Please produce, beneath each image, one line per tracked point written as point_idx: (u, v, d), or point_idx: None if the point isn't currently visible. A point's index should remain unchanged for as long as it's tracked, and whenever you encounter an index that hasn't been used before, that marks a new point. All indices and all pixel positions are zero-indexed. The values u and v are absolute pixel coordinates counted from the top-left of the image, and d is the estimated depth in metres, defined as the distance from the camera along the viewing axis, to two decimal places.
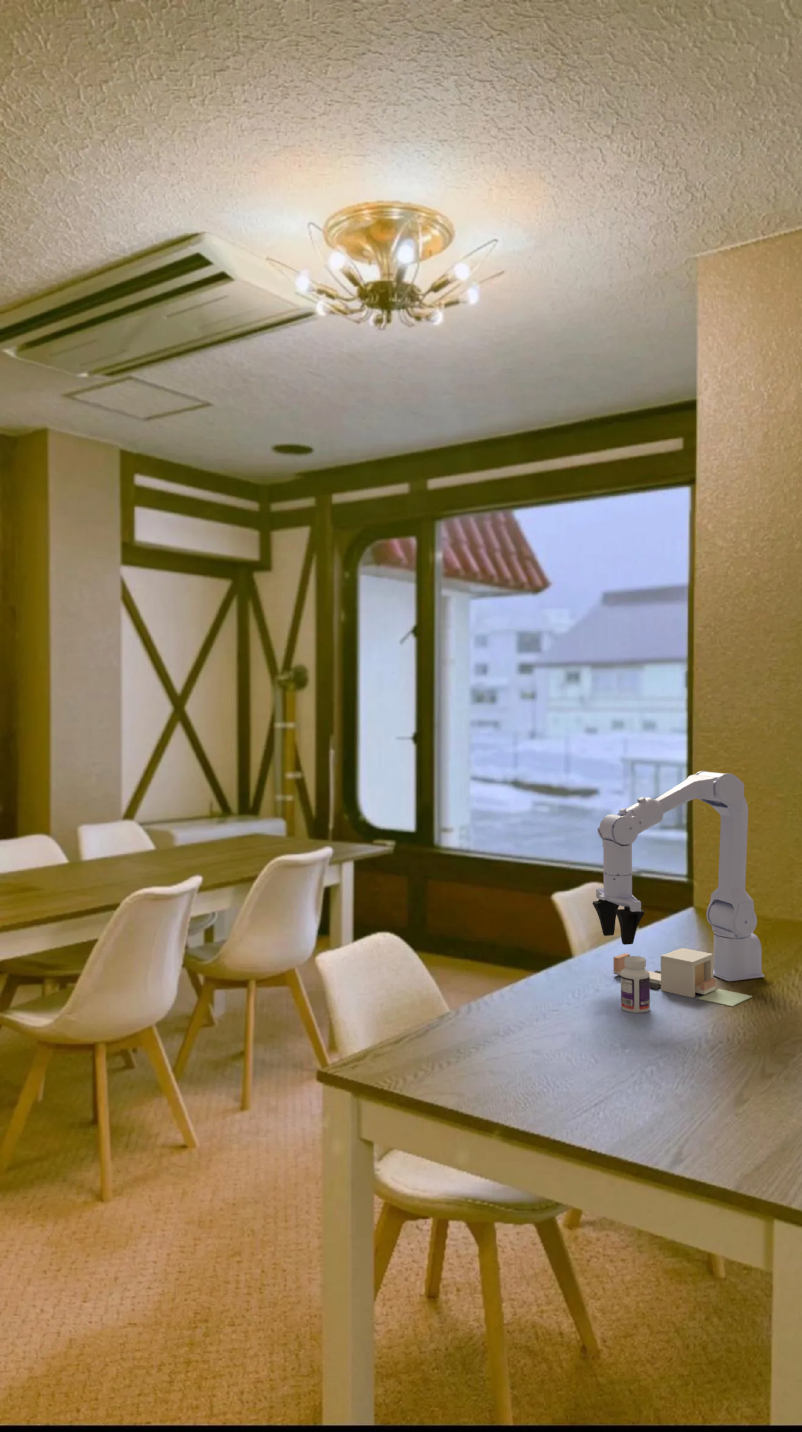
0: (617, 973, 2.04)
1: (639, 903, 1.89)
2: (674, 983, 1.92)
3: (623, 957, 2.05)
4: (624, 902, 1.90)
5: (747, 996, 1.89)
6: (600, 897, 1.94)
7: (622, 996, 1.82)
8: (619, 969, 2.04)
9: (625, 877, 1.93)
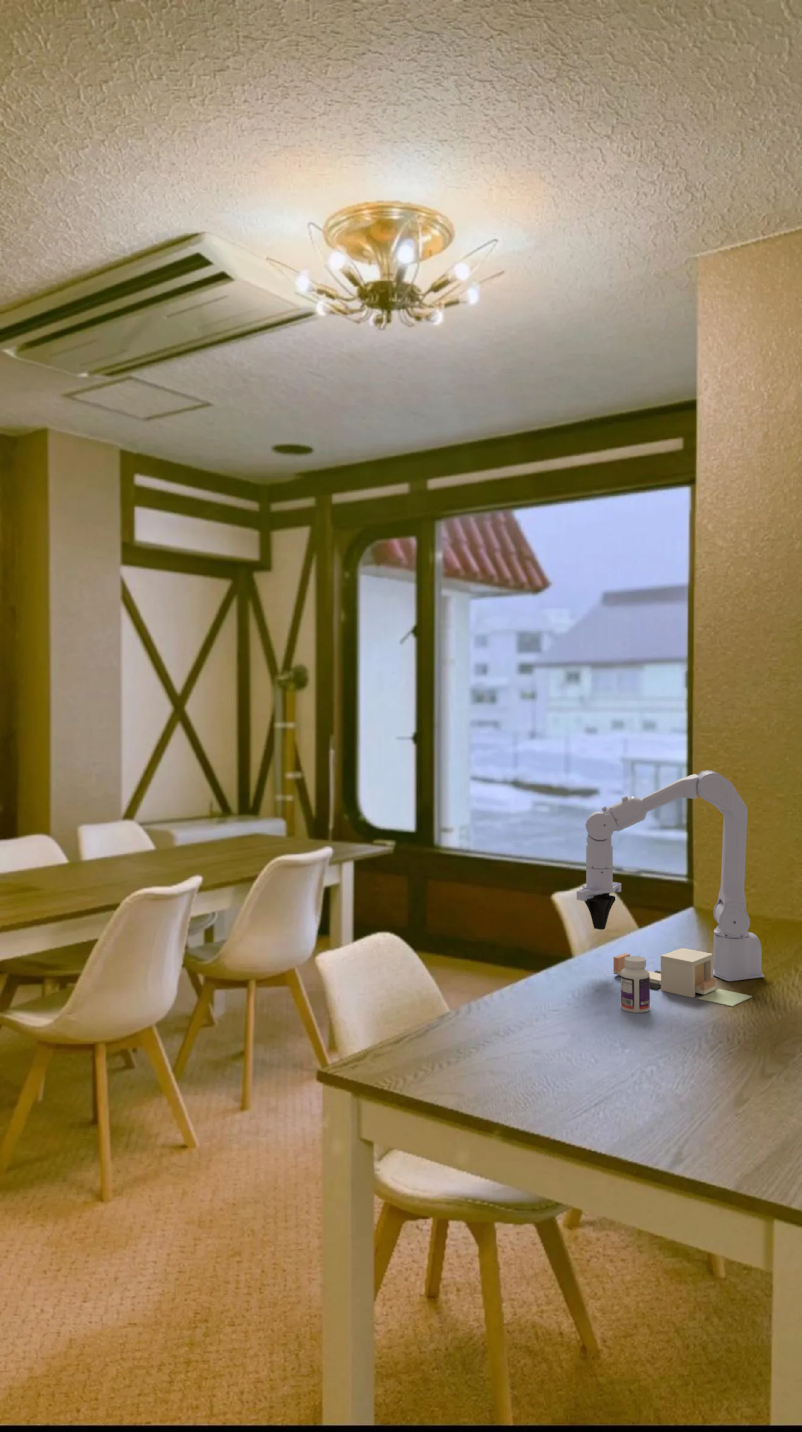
0: (617, 973, 2.04)
1: (583, 894, 2.04)
2: (674, 983, 1.92)
3: (623, 957, 2.05)
4: None
5: (747, 996, 1.89)
6: None
7: (622, 996, 1.82)
8: (619, 969, 2.04)
9: (592, 870, 2.08)
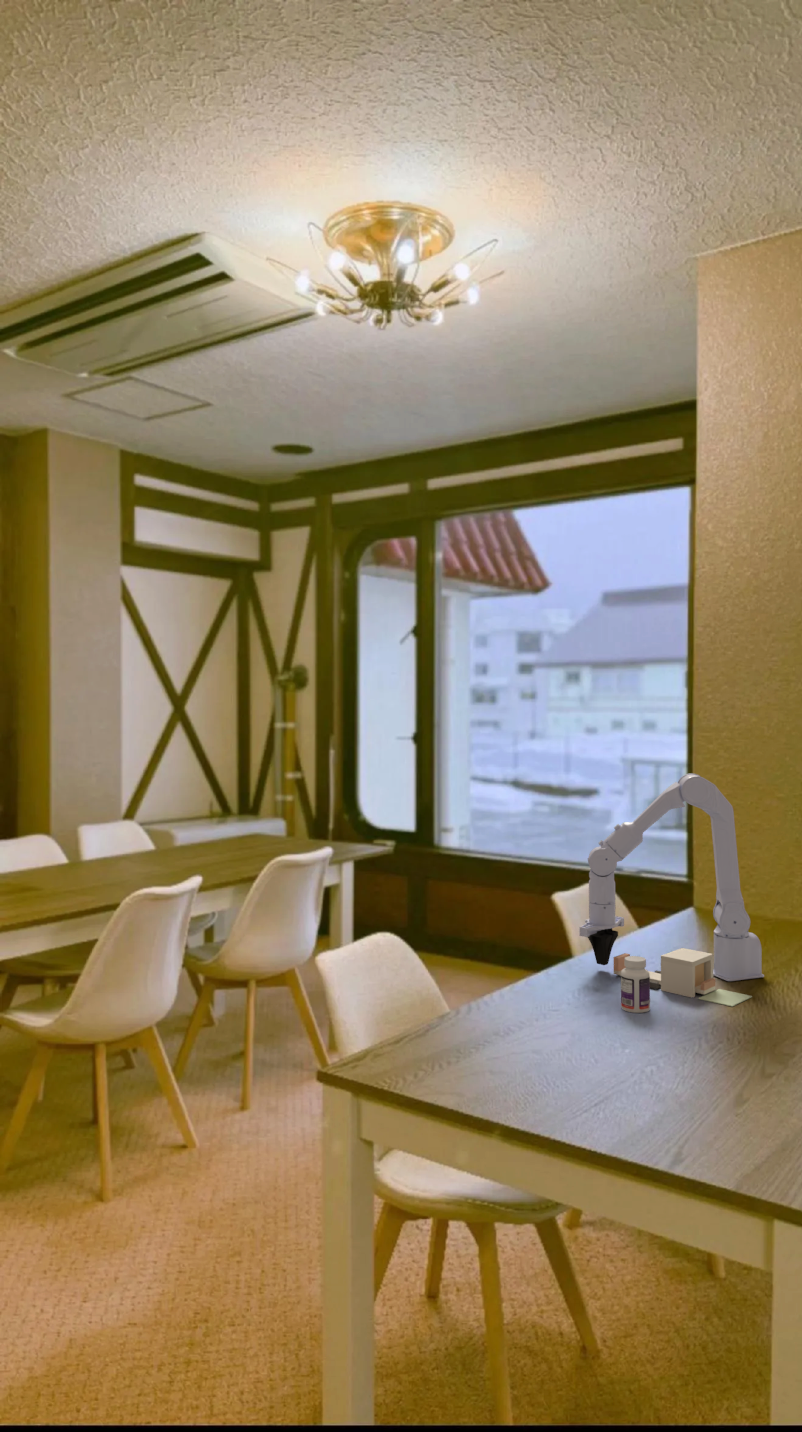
0: (617, 973, 2.04)
1: (585, 930, 2.04)
2: (674, 983, 1.92)
3: (623, 957, 2.05)
4: None
5: (747, 996, 1.89)
6: None
7: (622, 996, 1.82)
8: (619, 969, 2.04)
9: (595, 905, 2.07)
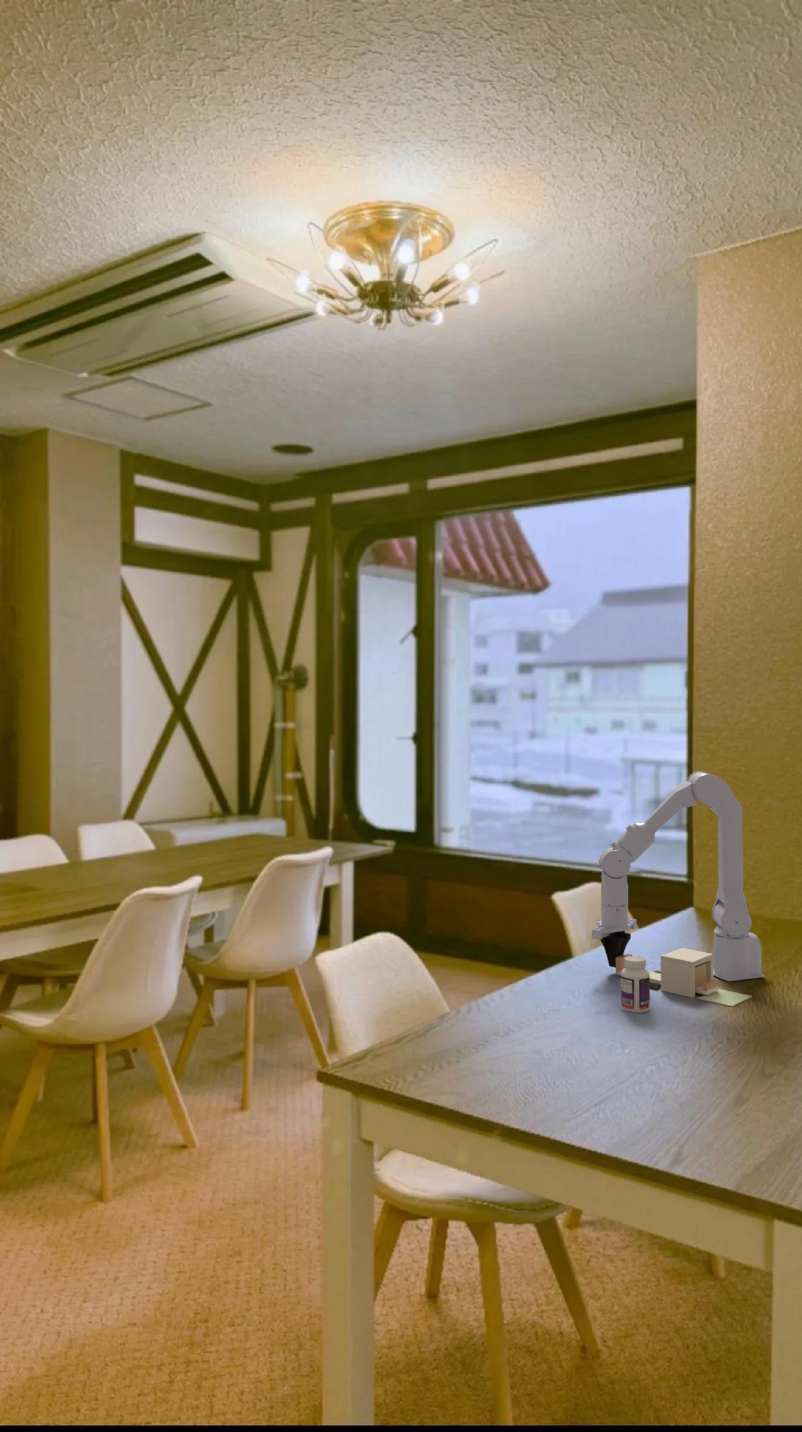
0: (619, 974, 2.04)
1: (598, 932, 2.01)
2: (674, 983, 1.92)
3: None
4: None
5: (747, 996, 1.89)
6: None
7: (622, 996, 1.82)
8: (621, 969, 2.04)
9: (607, 907, 2.05)
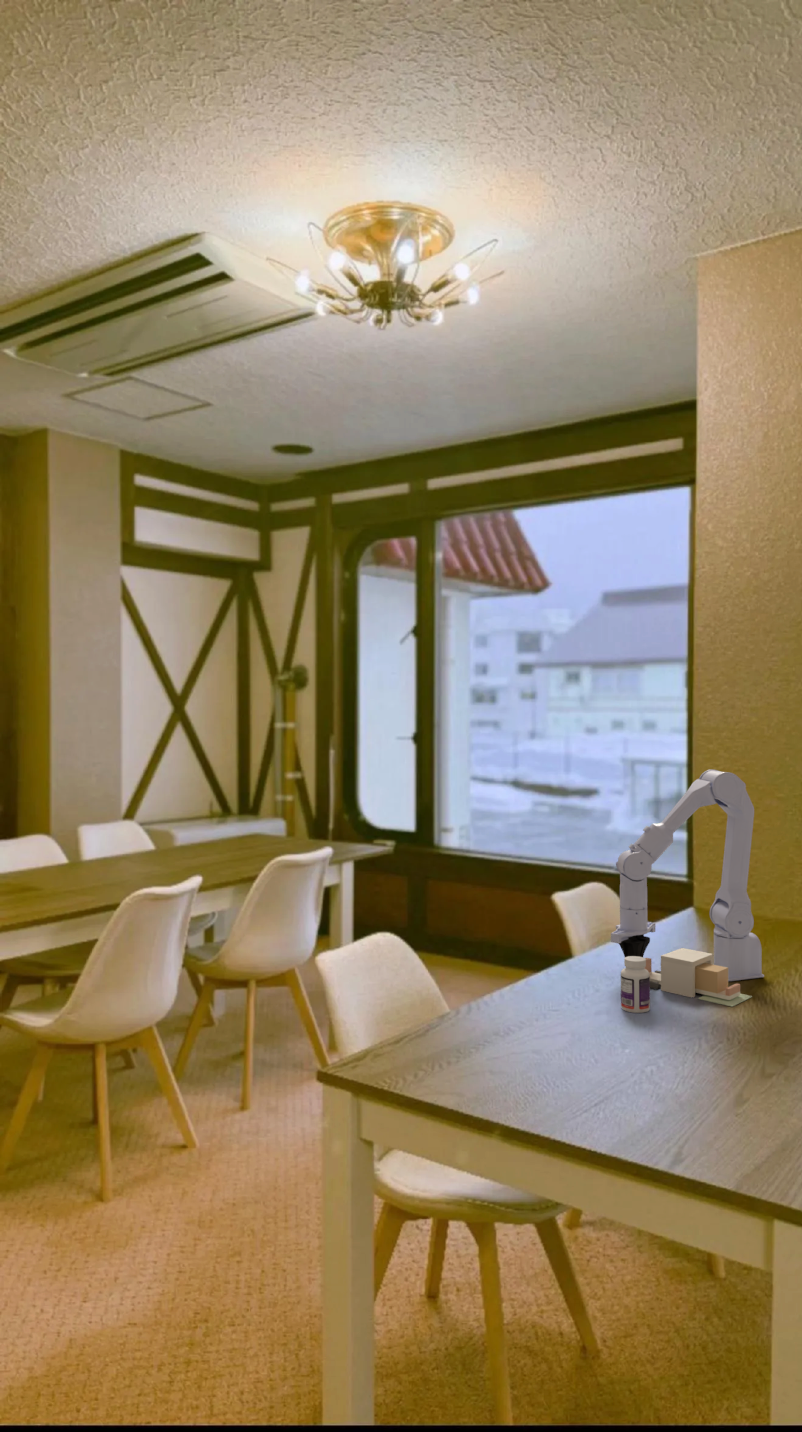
0: None
1: (617, 936, 1.98)
2: (674, 983, 1.92)
3: None
4: None
5: (747, 996, 1.89)
6: None
7: (622, 996, 1.82)
8: None
9: (626, 911, 2.02)
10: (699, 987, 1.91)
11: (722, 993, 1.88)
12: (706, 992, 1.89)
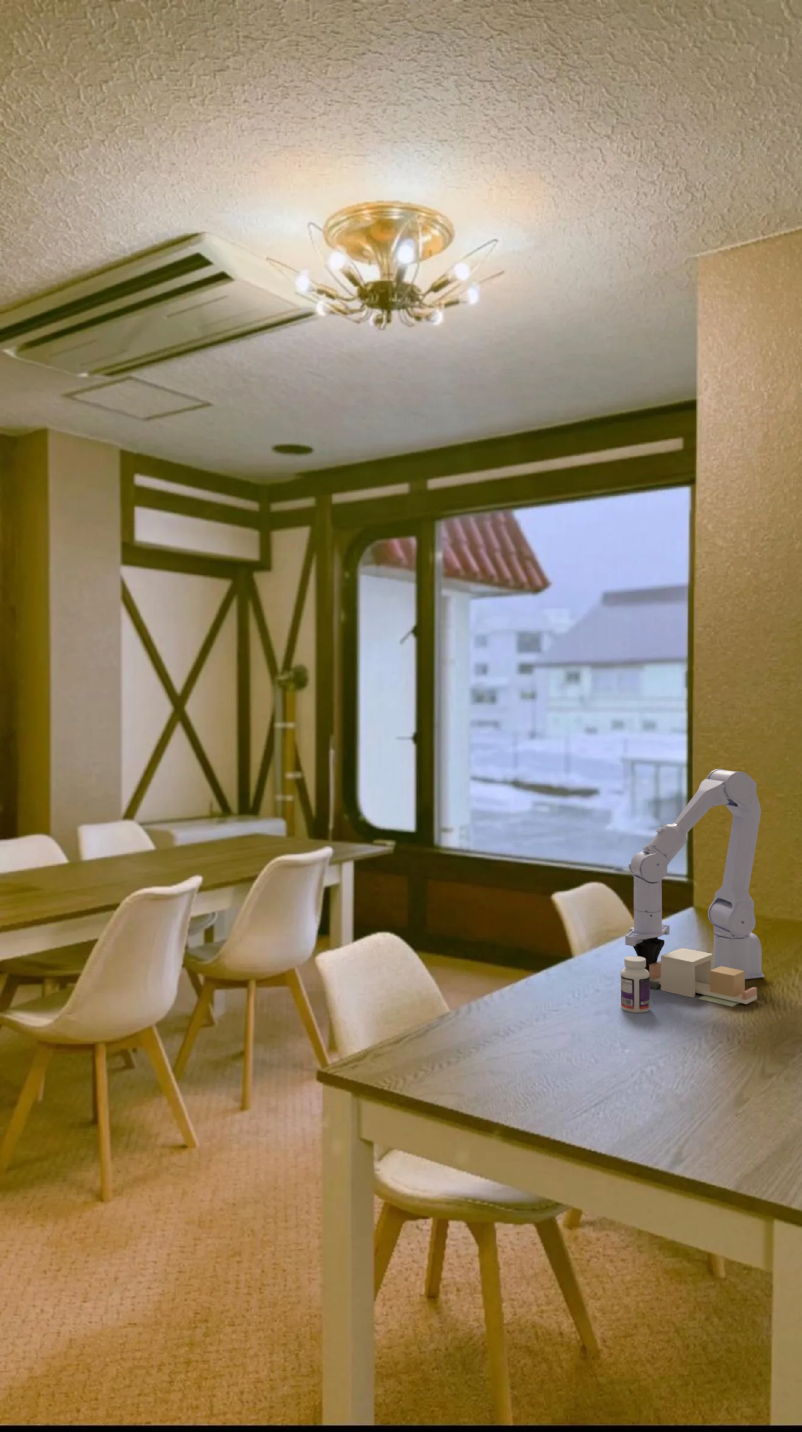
0: (653, 981, 1.98)
1: (632, 939, 1.96)
2: (674, 983, 1.92)
3: (659, 965, 1.99)
4: None
5: None
6: None
7: (622, 996, 1.82)
8: (655, 977, 1.98)
9: (641, 913, 1.99)
10: (715, 991, 1.88)
11: (739, 997, 1.85)
12: (722, 996, 1.87)
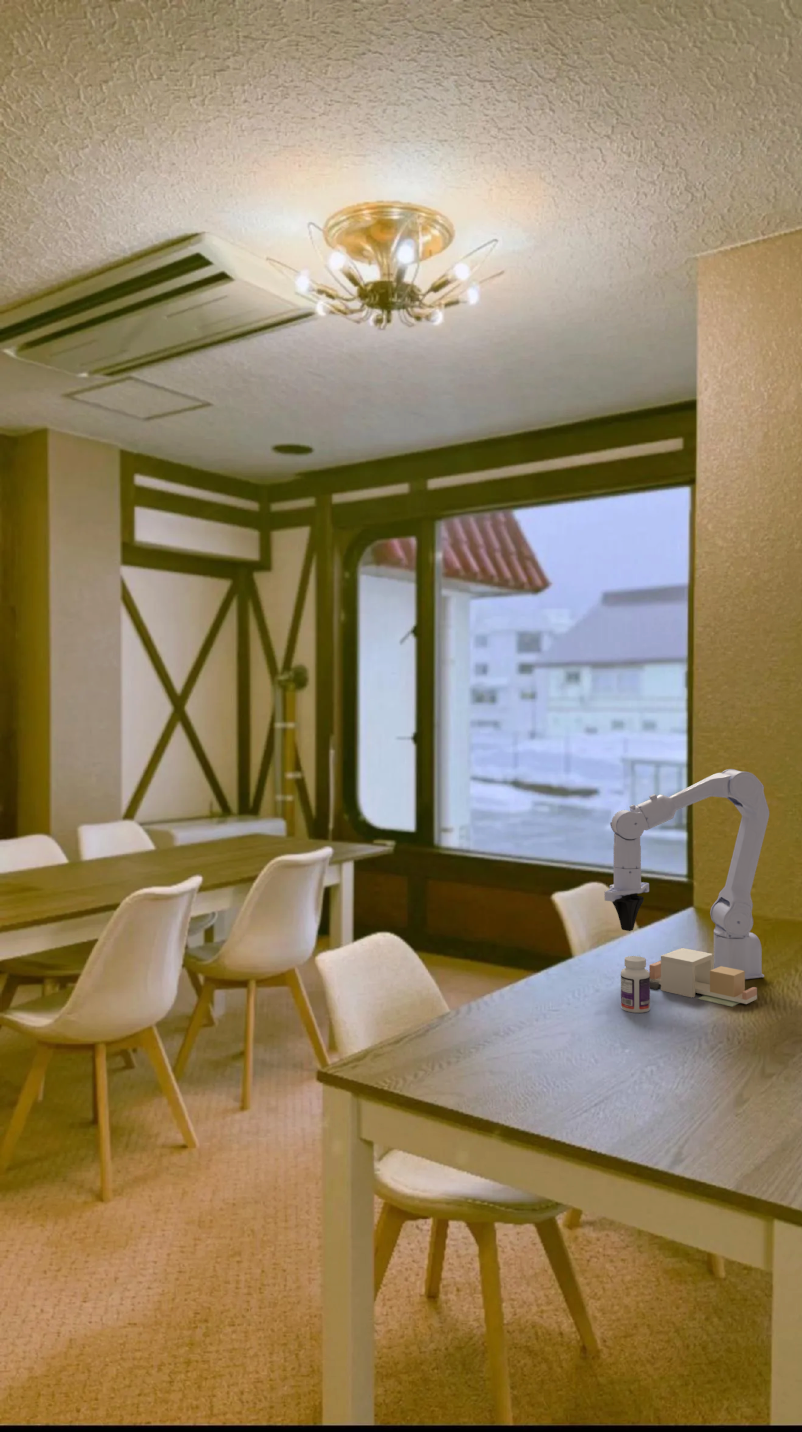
0: (653, 981, 1.98)
1: (611, 894, 1.99)
2: (674, 983, 1.92)
3: (659, 965, 1.99)
4: None
5: None
6: None
7: (622, 996, 1.82)
8: (655, 977, 1.98)
9: (620, 870, 2.03)
10: (715, 991, 1.88)
11: (739, 997, 1.85)
12: (722, 996, 1.87)
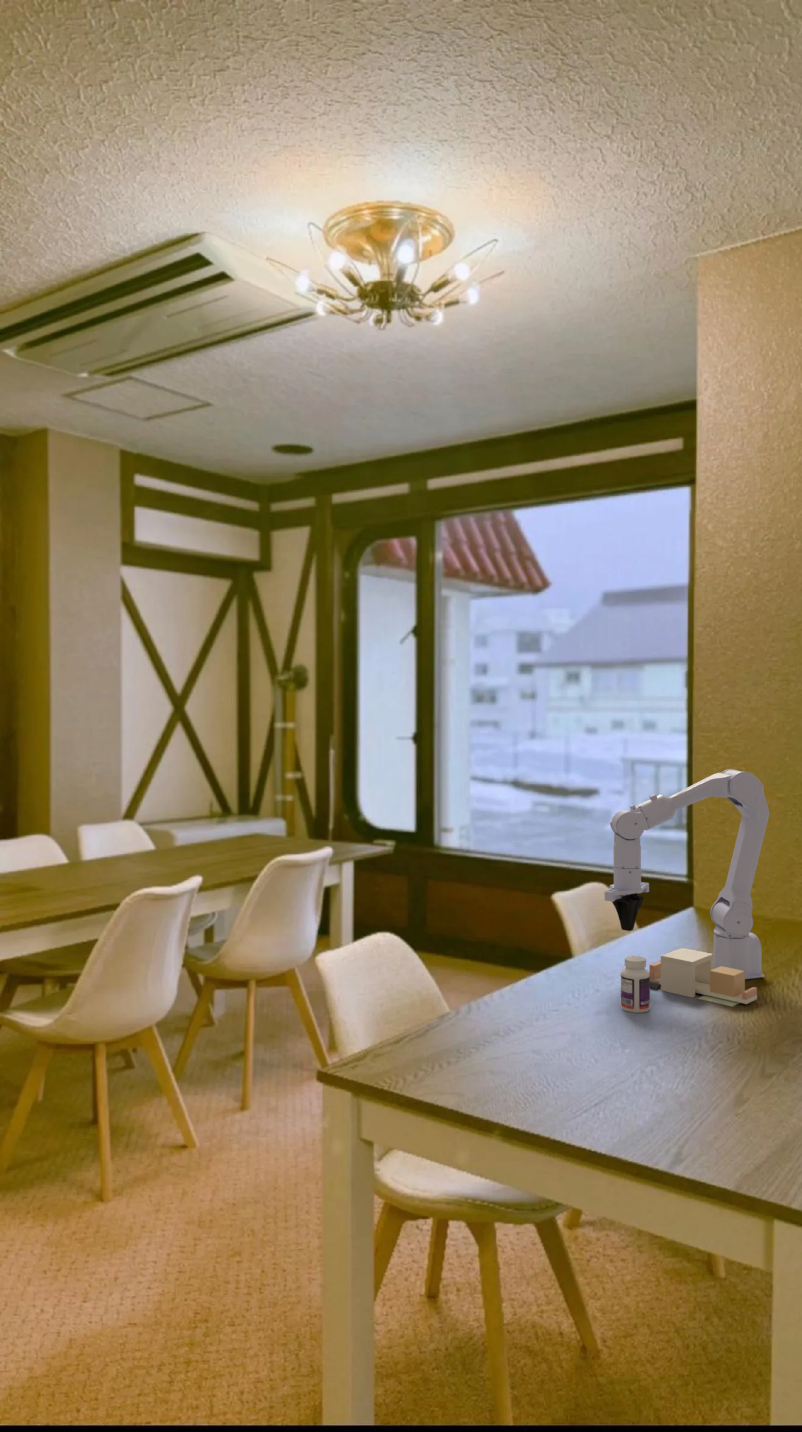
0: (653, 981, 1.98)
1: (611, 894, 1.99)
2: (674, 983, 1.92)
3: (659, 965, 1.99)
4: None
5: None
6: None
7: (622, 996, 1.82)
8: (655, 977, 1.98)
9: (620, 870, 2.03)
10: (715, 991, 1.88)
11: (739, 997, 1.85)
12: (722, 996, 1.87)
